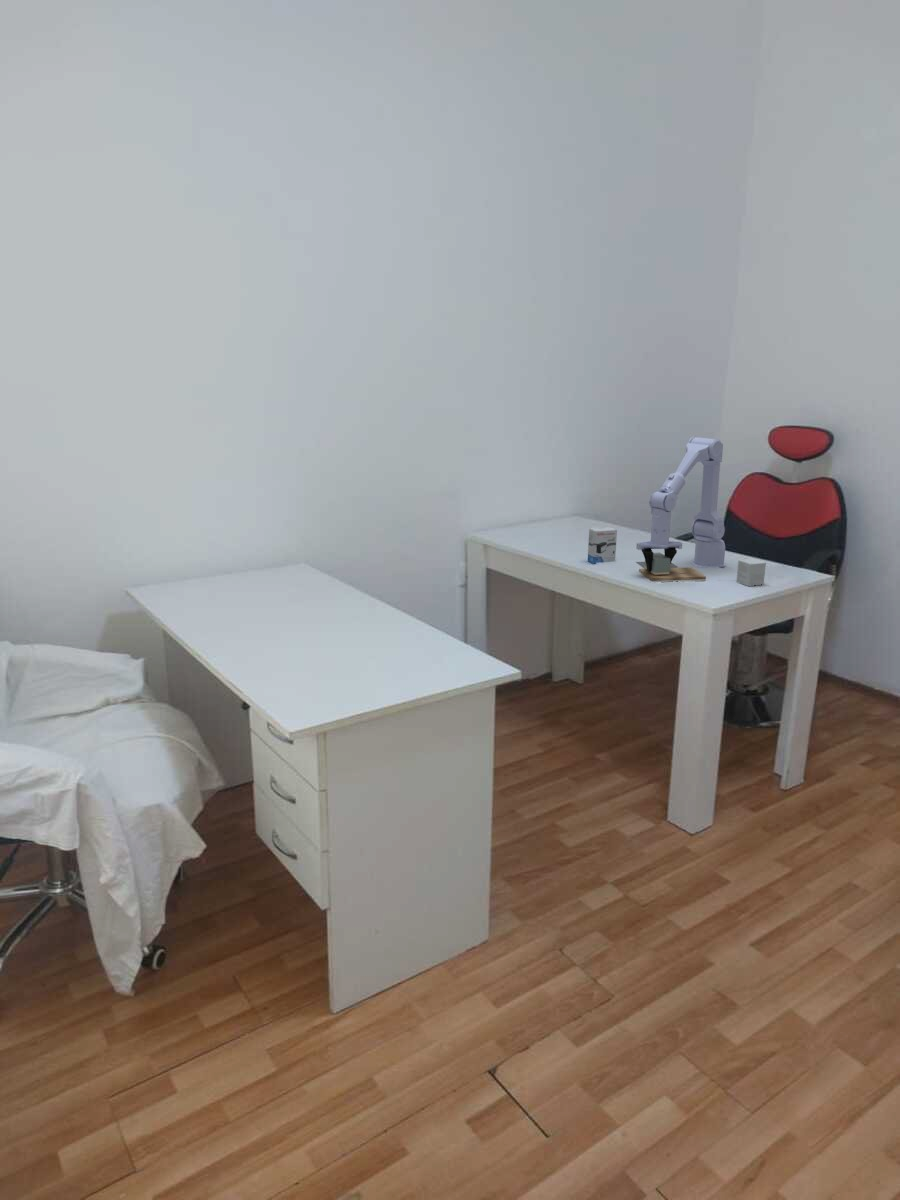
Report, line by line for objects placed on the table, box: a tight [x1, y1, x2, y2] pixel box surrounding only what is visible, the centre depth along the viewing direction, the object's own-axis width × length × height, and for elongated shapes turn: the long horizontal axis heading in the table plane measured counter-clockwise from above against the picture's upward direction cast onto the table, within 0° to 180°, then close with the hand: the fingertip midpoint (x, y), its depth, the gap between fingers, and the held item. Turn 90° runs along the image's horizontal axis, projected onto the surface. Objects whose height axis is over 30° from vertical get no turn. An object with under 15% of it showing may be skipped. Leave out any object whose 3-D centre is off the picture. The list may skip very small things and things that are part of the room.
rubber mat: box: [635, 561, 680, 569], centre depth 298 cm, size 12×11×1 cm
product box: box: [736, 557, 767, 587], centre depth 278 cm, size 6×6×7 cm
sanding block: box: [643, 552, 670, 575], centre depth 284 cm, size 5×9×5 cm, turn 8°
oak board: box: [638, 566, 707, 583], centre depth 285 cm, size 18×12×2 cm, turn 97°
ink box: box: [587, 526, 618, 565], centre depth 303 cm, size 8×5×12 cm, turn 105°
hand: (657, 570), depth 284 cm, fingers closed on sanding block, 5 cm apart
